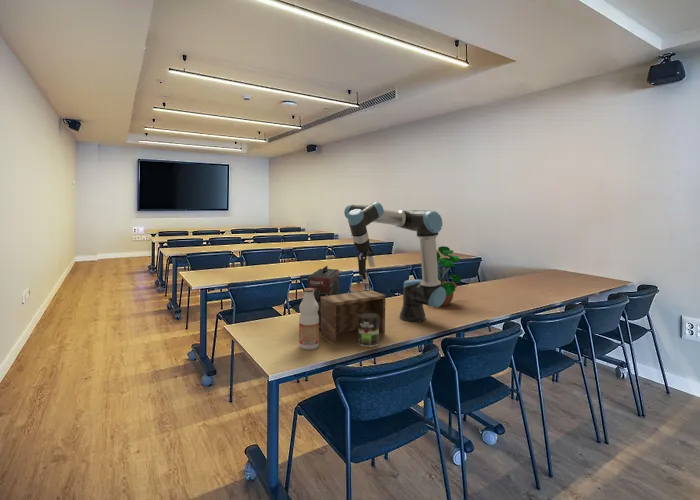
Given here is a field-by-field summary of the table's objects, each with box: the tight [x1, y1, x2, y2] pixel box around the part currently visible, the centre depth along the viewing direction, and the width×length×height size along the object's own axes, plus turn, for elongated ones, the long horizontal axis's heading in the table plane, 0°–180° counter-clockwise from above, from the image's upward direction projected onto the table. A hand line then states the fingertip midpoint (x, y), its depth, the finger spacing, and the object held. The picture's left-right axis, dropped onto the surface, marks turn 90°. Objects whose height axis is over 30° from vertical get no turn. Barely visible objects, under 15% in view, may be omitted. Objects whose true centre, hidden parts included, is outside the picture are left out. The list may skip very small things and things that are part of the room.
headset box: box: [306, 265, 340, 332], centre depth 216 cm, size 24×13×33 cm, turn 168°
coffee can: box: [357, 313, 380, 348], centre depth 188 cm, size 10×10×14 cm
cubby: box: [320, 289, 386, 345], centre depth 200 cm, size 31×14×20 cm, turn 121°
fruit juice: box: [298, 287, 320, 351], centre depth 182 cm, size 9×9×28 cm
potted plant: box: [436, 246, 462, 307], centre depth 259 cm, size 31×29×40 cm
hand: (369, 274), depth 197 cm, fingers open, 13 cm apart
